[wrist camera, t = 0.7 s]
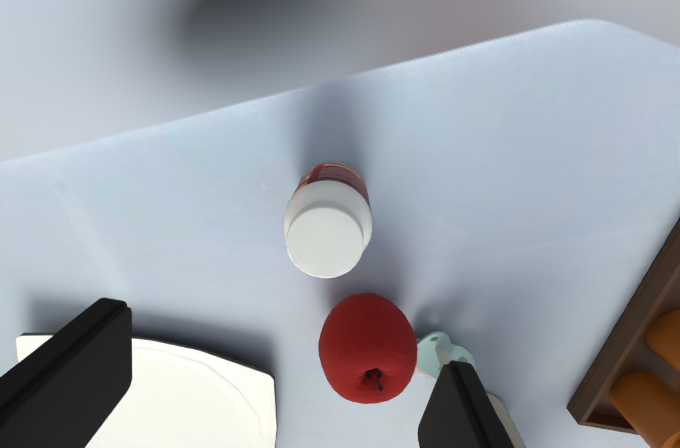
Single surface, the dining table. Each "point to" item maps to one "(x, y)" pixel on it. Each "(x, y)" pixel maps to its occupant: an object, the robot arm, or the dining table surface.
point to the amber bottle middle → (666, 338)
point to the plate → (185, 399)
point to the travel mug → (506, 421)
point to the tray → (632, 343)
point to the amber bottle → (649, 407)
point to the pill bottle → (328, 220)
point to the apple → (367, 349)
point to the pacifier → (438, 354)
